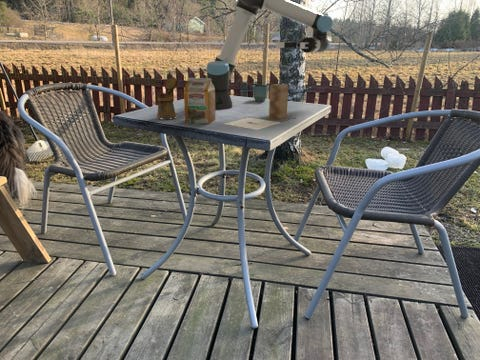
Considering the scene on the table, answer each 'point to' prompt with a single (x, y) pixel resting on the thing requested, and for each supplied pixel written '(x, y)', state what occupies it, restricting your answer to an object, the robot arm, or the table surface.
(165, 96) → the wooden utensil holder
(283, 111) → the walnut block
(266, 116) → the mat
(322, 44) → the robot arm
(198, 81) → the milk carton
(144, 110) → the table surface
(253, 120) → the beige square pad
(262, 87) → the flower pot
